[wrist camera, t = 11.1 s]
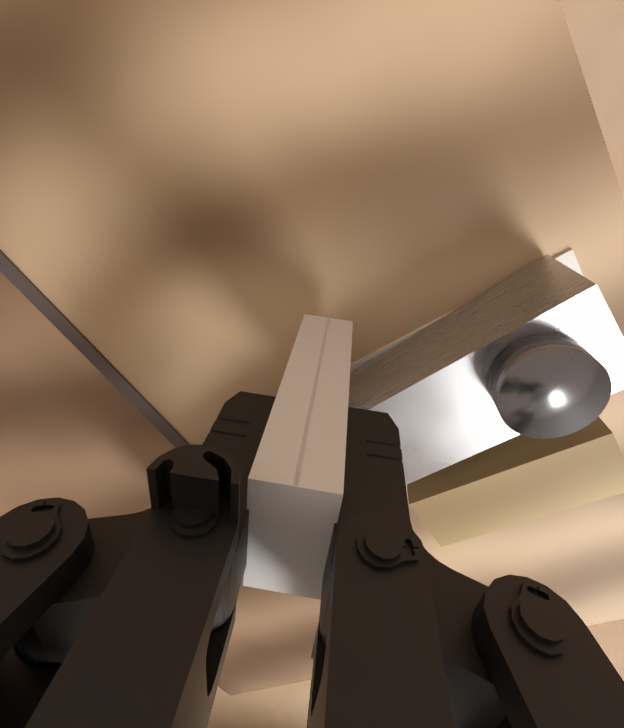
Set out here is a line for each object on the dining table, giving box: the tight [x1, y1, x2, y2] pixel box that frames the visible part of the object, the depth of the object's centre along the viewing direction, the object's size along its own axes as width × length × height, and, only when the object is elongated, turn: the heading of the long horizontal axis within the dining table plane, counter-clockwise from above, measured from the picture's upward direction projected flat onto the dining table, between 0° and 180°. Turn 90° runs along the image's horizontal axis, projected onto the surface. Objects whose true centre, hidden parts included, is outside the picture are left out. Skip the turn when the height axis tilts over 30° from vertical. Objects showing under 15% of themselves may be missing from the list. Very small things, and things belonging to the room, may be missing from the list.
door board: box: [0, 0, 624, 695], centre depth 16 cm, size 32×30×5 cm
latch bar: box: [348, 254, 624, 485], centre depth 13 cm, size 17×4×4 cm, turn 129°
